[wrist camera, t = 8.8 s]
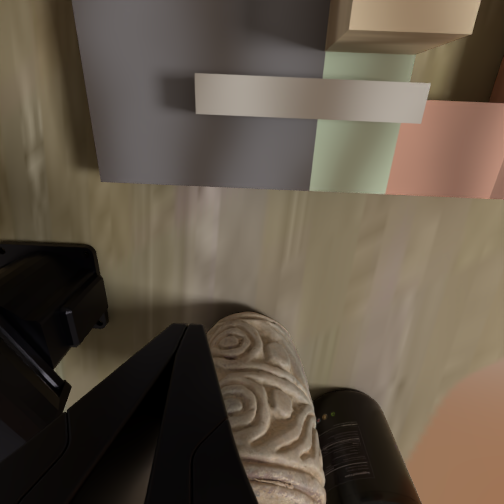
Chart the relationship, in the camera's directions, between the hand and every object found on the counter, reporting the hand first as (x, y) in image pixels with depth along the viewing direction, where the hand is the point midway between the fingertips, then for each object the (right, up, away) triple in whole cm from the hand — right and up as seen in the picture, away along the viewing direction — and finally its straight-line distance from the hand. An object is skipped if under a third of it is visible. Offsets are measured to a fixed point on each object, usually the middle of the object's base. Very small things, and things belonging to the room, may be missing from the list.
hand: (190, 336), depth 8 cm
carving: (+2, -4, +15) cm, 16 cm away
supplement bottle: (+9, -12, +19) cm, 24 cm away
